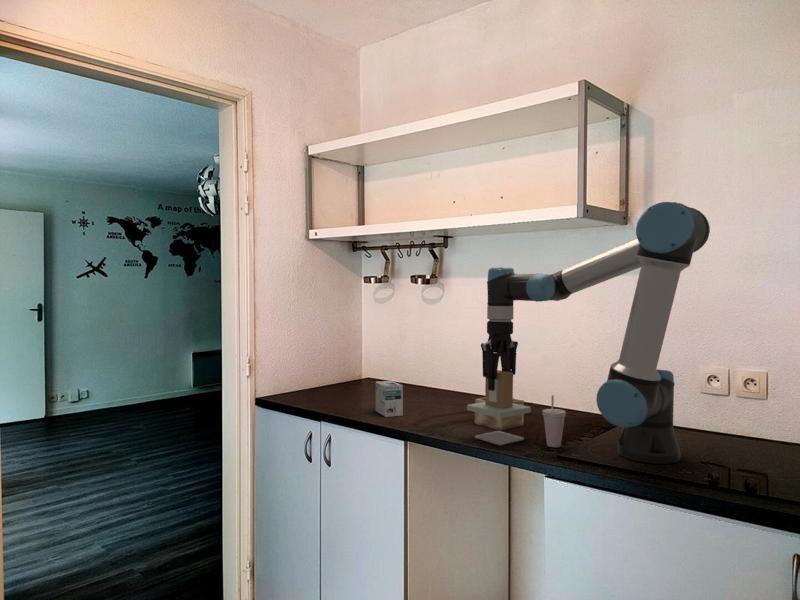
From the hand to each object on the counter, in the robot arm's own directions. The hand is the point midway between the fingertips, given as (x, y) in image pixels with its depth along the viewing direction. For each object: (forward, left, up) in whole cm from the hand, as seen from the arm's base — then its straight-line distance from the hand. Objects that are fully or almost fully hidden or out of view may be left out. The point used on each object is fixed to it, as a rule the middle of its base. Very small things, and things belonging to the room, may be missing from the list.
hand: (499, 400), depth 165 cm
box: (+12, -13, -11) cm, 21 cm away
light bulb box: (+46, +6, -11) cm, 48 cm away
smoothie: (-14, -7, -11) cm, 19 cm away
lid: (0, 0, -3) cm, 3 cm away
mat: (0, 0, -11) cm, 11 cm away
